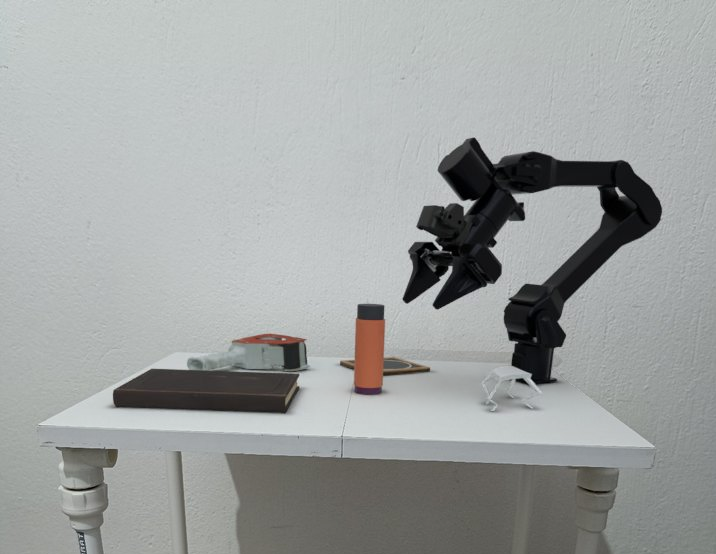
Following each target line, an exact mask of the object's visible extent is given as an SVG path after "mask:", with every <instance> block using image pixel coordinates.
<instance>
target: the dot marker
mask: <svg viewBox="0 0 716 554" xmlns="http://www.w3.org/2000/svg"><path fill="white" fill-rule="evenodd" d="M356 306H357V309H356V310H357V311H356V318H355V328H354V329H355V332H354V333H355V334H354V336H355V337H354V360H355V366H354V369H353V370H354V371H353V385H354V392H355V393H357V394H360V395H378V394H381V393H382V391H383V385H384V384H383V382H384V376H383V362H384V358H385V337H386V336H385V334H386V318H385V305H384V304H380V303H358V304H357V305H356Z"/></svg>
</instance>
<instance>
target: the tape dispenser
mask: <svg viewBox="0 0 716 554" xmlns="http://www.w3.org/2000/svg"><path fill="white" fill-rule="evenodd" d="M305 341H307V338H302V337H298V336H291V335H286V334H285V335H284V334H278V333H261V334H256V335H252V336H247V337H241V338H238V339H233V340H231V345H230V346H229V347H228V348H227V350H228V351H221V352H216V353H210V354H206V355H202V356H190V357H188V358H187V360H186V367H187V370H206V371H212V370H216V369H221V368H224V367H228V366H232V365H233V367H236V368H240V369H247V370H271V369H274V367H276V366H279V367H280V366H281V368H283V371H284V372H298V371H301V370H305V369H306V370H307V369H309V368H310V365H308V356H307V354H308V353H307V352H308V351H307V345H306V342H305Z"/></svg>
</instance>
